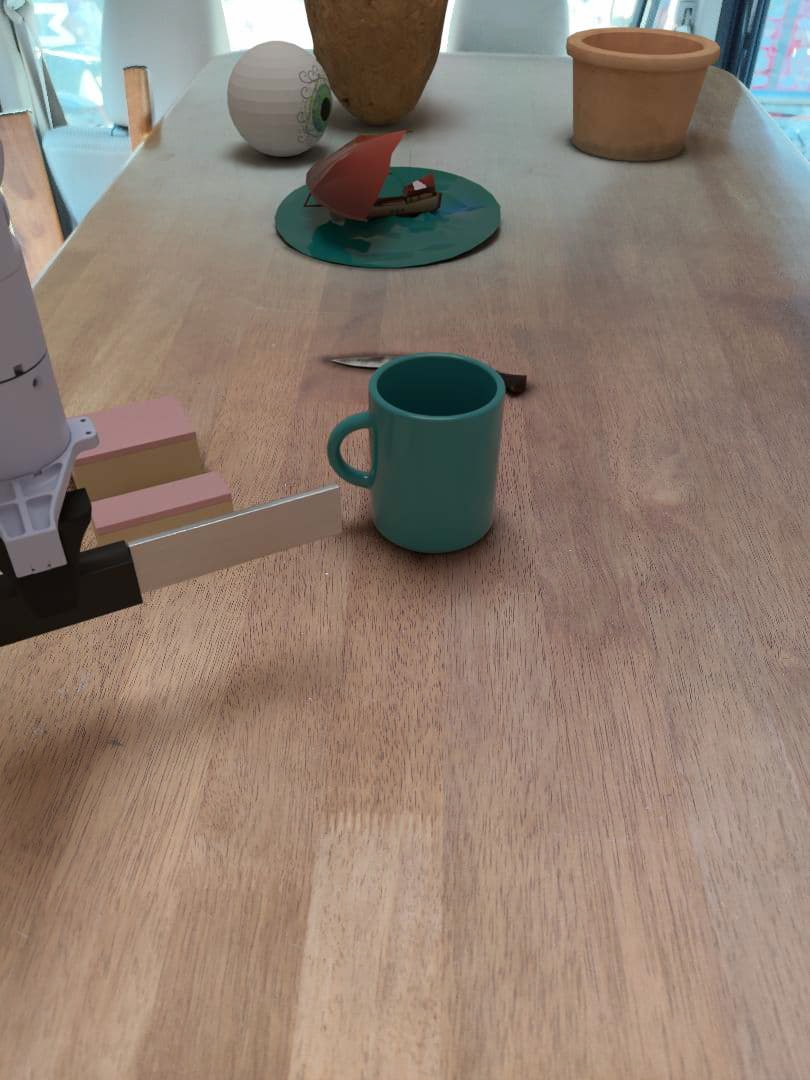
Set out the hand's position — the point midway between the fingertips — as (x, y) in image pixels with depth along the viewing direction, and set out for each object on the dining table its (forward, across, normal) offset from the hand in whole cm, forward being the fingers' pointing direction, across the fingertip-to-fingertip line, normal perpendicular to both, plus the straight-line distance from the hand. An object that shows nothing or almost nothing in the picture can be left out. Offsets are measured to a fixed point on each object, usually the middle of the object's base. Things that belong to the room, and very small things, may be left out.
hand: (53, 594), depth 47 cm
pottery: (+9, +77, -98) cm, 125 cm away
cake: (+9, +22, -8) cm, 25 cm away
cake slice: (+9, +12, -8) cm, 17 cm away
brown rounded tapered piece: (+9, +103, -68) cm, 124 cm away
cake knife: (+2, 0, -6) cm, 6 cm away
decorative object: (+9, +94, -48) cm, 106 cm away
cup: (+9, +8, -25) cm, 28 cm away
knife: (+9, +26, -36) cm, 46 cm away
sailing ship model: (+9, +62, -50) cm, 80 cm away
